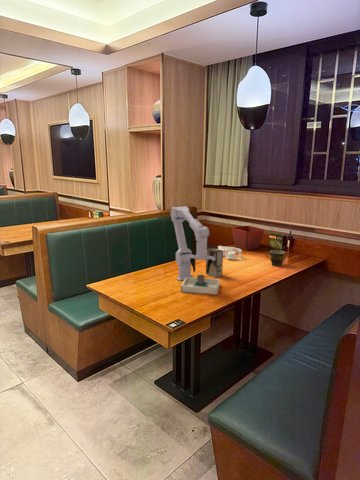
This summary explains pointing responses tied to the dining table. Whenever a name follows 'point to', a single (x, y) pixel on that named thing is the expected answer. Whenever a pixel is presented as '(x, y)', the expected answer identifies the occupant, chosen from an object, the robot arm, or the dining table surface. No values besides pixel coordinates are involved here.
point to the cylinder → (200, 280)
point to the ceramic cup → (276, 257)
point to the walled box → (192, 287)
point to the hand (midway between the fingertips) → (201, 272)
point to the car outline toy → (230, 252)
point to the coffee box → (215, 262)
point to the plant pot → (247, 237)
